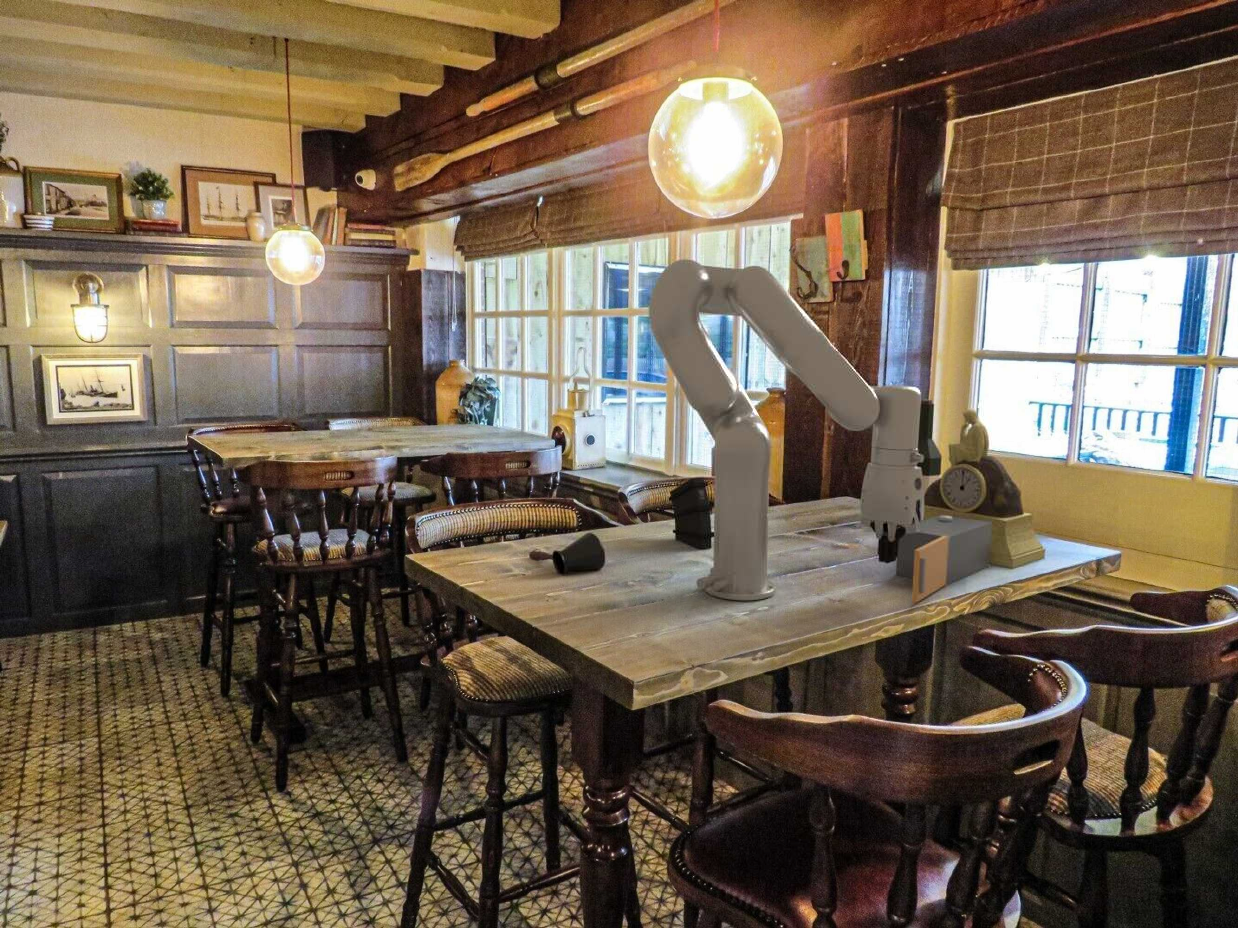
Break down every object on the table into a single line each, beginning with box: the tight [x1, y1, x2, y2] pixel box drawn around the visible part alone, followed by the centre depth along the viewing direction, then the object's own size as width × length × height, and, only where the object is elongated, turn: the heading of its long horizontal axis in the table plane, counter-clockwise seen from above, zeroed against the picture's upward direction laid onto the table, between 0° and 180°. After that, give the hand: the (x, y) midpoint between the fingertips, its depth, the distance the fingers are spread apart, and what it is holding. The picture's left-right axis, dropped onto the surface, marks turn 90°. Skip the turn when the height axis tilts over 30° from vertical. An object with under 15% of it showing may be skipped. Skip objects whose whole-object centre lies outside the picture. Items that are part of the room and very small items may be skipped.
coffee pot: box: [528, 532, 606, 576], centre depth 172 cm, size 8×18×8 cm
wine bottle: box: [916, 399, 943, 495], centre depth 205 cm, size 8×8×30 cm
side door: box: [911, 535, 950, 603], centre depth 151 cm, size 2×14×9 cm, turn 140°
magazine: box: [668, 476, 714, 551], centre depth 189 cm, size 4×13×15 cm, turn 27°
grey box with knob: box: [895, 515, 992, 586], centre depth 168 cm, size 20×10×10 cm, turn 133°
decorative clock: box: [922, 408, 1046, 569], centre depth 182 cm, size 28×13×30 cm, turn 38°
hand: (887, 560), depth 151 cm, fingers closed
